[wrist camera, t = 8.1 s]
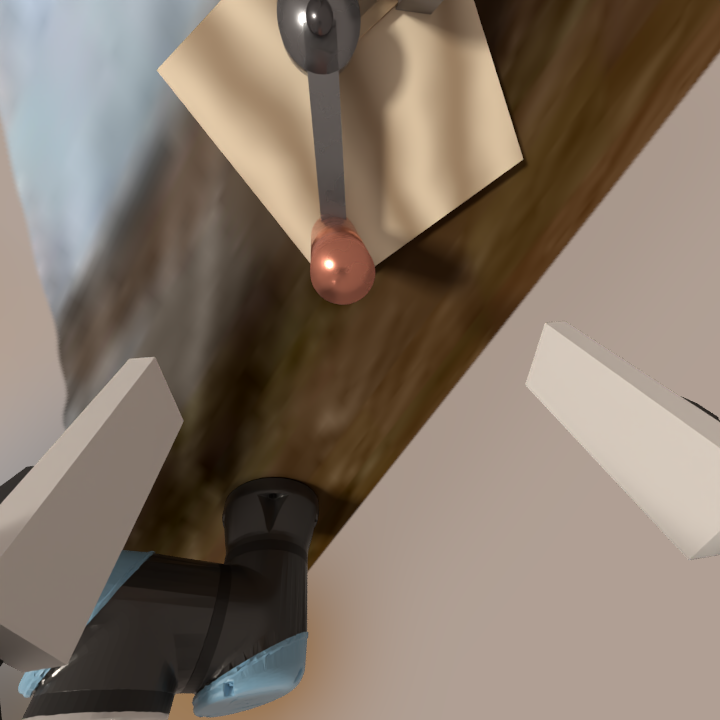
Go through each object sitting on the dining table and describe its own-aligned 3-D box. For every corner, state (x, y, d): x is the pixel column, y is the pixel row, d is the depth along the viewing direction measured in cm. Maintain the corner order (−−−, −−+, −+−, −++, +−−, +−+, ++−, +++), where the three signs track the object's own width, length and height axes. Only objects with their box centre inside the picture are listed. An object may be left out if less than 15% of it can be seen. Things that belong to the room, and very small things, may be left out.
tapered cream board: (334, 289, 35) (338, 315, 29) (164, 74, 24) (121, 51, 18) (515, 157, 30) (560, 159, 24) (405, -184, 19) (441, -316, 14)
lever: (308, 258, 30) (306, 307, 21) (262, -123, 18) (209, -415, 9) (361, 255, 30) (383, 301, 21) (350, -120, 19) (388, -396, 9)
